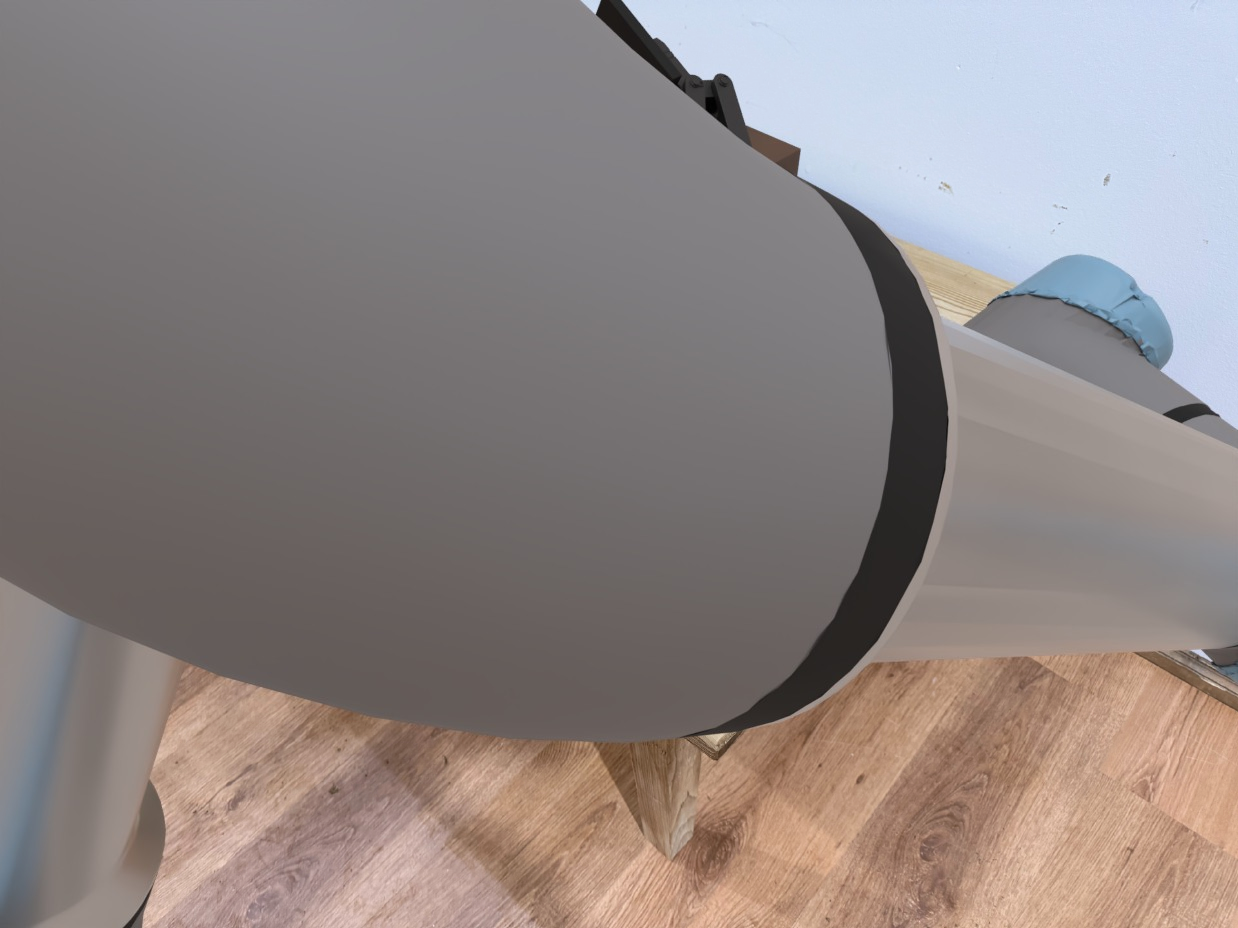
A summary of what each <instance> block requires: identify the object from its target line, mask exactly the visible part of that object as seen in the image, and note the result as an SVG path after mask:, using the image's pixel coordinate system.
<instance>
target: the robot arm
mask: <svg viewBox="0 0 1238 928" xmlns="http://www.w3.org/2000/svg"><path fill="white" fill-rule="evenodd" d="M737 95H738V94H737V93H736V89H735V85H734V81H732V79H731V78H730V77H729V75H727V74H725V73H717V74H715V75H714V76H713V78H712V79H703V78H702V77H701V76H699V75H697V74H690V72H689V71H688V70H687V69H686V67H684V65H683V64H682V63H681V61H680V60H679V59H678V58H677V57H676V56H675V54H674V53H673V52H672V50H671V49H670V48H669V47H668V46H667V44H666V43H665V42H664V41H662V39H660V38H658V37H654V38H653V37H652V36H651V34H650V33H649V32H648V31H647V29H646V28H645V27H644V26H643V24H642V23H641V22H640V21H639V20H638V18H637V17H636V16H635V15H634V13H633V12H632V11H631V9H630V8H629V7H628V6H627V5H626V3H625V2H624V1H623V0H600V1H599V4H598V6H597V9H596V12H593V10H591V9H590V7H588V6H587V4H585V3H584V2H583V1H582V0H0V928H143V924H144V916H145V910H146V908H147V905H148V902H149V900H150V897H151V893H152V891H153V888H154V885H155V882H156V879H157V876H158V873H159V870H160V869H161V868H160V867H161V863H162V860H163V855H164V851H165V847H166V835H167V826H166V820H165V813H164V809H163V803H162V801H161V798H160V795H159V793H158V791H157V789H156V787H155V785H154V784H153V782H152V780H151V779H150V777H151V774H152V771H153V768H154V765H155V761H156V758H157V755H158V752H159V749H160V746H161V743H162V740H163V736H164V733H165V729H166V726H167V723H168V720H169V717H170V714H171V711H172V707H173V704H174V701H175V698H176V694H177V691H178V688H179V686H180V682H181V679H182V675H183V672H184V669H185V667H186V663H187V664H189V665H192V666H195V667H197V668H199V669H202V670H204V671H207V672H209V673H211V674H214V675H216V676H219V677H222V678H226V679H229V680H233V681H237V682H241V683H244V684H249V685H252V686H256V687H259V688H263V689H266V690H270V691H274V692H277V693H282V694H285V695H289V696H292V697H296V698H300V699H302V700H303V699H304V700H306V701H310V702H315V703H318V704H321V705H325V706H329V707H332V708H336V709H339V710H343V711H347V712H351V713H354V714H358V715H362V716H366V717H369V718H375V719H382V720H387V721H394V722H400V723H407V724H413V725H419V726H425V727H430V728H431V727H432V728H436V729H437V728H439V729H444V730H452V731H457V732H462V733H463V732H464V733H469V734H470V733H471V734H476V735H482V736H489V737H494V738H502V739H508V740H527V741H528V740H529V741H551V742H554V741H555V742H557V741H558V742H583V743H608V744H609V743H612V744H630V743H632V744H633V743H642V742H653V741H662V740H665V741H666V740H674V739H686V738H693V737H702V736H713V735H721V734H730V733H731V734H732V733H737V732H741V731H748V730H752V729H757V728H762V727H765V726H769V725H775V724H780V723H783V722H785V721H787V720H790V719H792V718H795V717H796V716H798V715H801V714H804V713H806V712H808V711H811V710H812V709H814V708H815V707H817V706H819V705H820V704H821V703H823V702H824V701H826V700H827V699H828V698H830V697H832V696H834V695H835V694H836V693H838V692H840V691H841V690H842V689H843V688H844V687H845V686H846V685H847V684H849V683H850V682H851V681H852V680H853V679H854V678H855V677H856V676H858V675H859V674H860V673H861V672H862V671H863V670H864V669H865V668H866V667H867V666H868V665H869V664H872V663H895V662H897V663H899V662H923V661H924V662H925V661H944V660H949V661H950V660H970V659H971V660H972V659H973V660H974V659H994V658H995V659H996V658H1019V657H1045V656H1071V655H1095V654H1096V655H1097V654H1099V655H1100V654H1120V653H1121V654H1122V653H1123V654H1124V653H1125V654H1126V653H1144V652H1145V653H1146V652H1169V651H1170V652H1172V651H1195V650H1196V651H1197V650H1201V651H1202V652H1203V653H1204V655H1206V656H1207V657H1208V658H1209V659H1210V660H1211V661H1210V665H1211V666H1212V667H1213V668H1214V669H1216V670H1217V672H1218V673H1219V674H1221V675H1224V676H1226V677H1228V678H1229V679H1231V680H1232V681H1233V682H1234V683H1236V685H1238V428H1236V427H1234V426H1233V425H1231V424H1230V423H1229V422H1228V421H1226V420H1225V419H1223V418H1222V417H1221V415H1220V413H1216V412H1215V411H1214V410H1213V409H1211V407H1210V406H1209V405H1208V404H1207V403H1205V402H1204V401H1203V400H1201V399H1200V398H1198V397H1197V396H1196V395H1194V394H1193V393H1191V391H1189V390H1187V389H1186V388H1185V387H1183V386H1182V385H1180V384H1179V383H1178V382H1176V381H1175V380H1174V379H1173V378H1171V377H1169V376H1168V375H1167V374H1166V373H1164V372H1163V371H1162V369H1163V368H1164V367H1165V366H1166V365H1167V364H1168V362H1169V361H1170V359H1171V357H1172V355H1173V352H1174V336H1173V333H1172V329H1171V326H1170V323H1169V321H1168V319H1167V317H1166V316H1165V313H1164V311H1163V310H1162V308H1161V307H1160V305H1159V304H1158V303H1157V301H1156V299H1154V297H1153V296H1151V295H1148V294H1147V293H1145V292H1144V291H1143V290H1142V289H1141V288H1140V287H1139V286H1138V284H1137V281H1136V280H1135V278H1134V277H1133V276H1132V275H1130V274H1129V273H1128V272H1126V271H1125V270H1123V269H1122V268H1120V267H1119V266H1118V265H1116V264H1114V263H1113V262H1110V261H1108V260H1106V259H1103V258H1101V257H1097V256H1095V255H1094V256H1093V255H1089V254H1083V253H1082V254H1079V253H1078V254H1077V253H1076V254H1069V255H1065V256H1061V257H1059V258H1057V259H1054V260H1053V261H1052V262H1050V263H1048V264H1047V265H1046V266H1044V267H1043V268H1041V269H1040V270H1039V271H1037V272H1035V273H1033V274H1032V275H1031V276H1030V277H1027V278H1026V279H1025V280H1024V281H1022V282H1020V283H1018V284H1016V285H1015V286H1014V287H1013V288H1011V289H1009V290H1006V291H1004V292H1003V293H1002V294H998V295H997V296H996V297H994V298H992V299H991V301H989V302H988V303H987V305H986V307H985V308H984V309H982V310H981V311H980V312H978V313H977V314H975V315H974V316H973V317H972V318H970V319H969V320H968V321H966V322H965V323H964V324H963V325H962V324H960V323H957V322H956V321H953V320H951V319H949V318H947V317H944V316H942V315H941V314H940V311H939V309H938V307H937V305H936V303H935V300H934V298H933V296H932V294H931V292H930V289H929V288H928V285H927V283H926V281H925V279H924V277H923V275H922V274H921V273H920V271H919V270H918V268H917V267H916V266H915V263H913V261H912V260H911V258H910V257H909V256H908V254H907V253H906V251H905V249H904V248H903V247H902V245H900V244H899V243H898V242H897V240H895V239H894V238H893V237H892V235H890V234H889V233H888V232H887V231H886V230H885V229H884V227H882V226H881V225H880V224H879V223H878V222H877V221H876V220H874V219H873V218H871V217H869V216H868V215H867V214H865V213H864V212H862V211H861V210H859V209H857V208H856V207H854V206H853V205H852V204H850V203H848V202H846V201H845V200H842V199H841V198H839V197H838V196H835V195H834V194H832V193H830V192H828V191H827V190H824V189H823V188H821V187H819V186H817V185H816V184H814V183H812V182H809V181H808V180H806V179H804V178H803V177H800V176H798V175H797V176H796V175H795V174H793V173H792V172H790V171H788V170H786V169H784V168H782V167H780V166H779V165H777V164H776V163H774V162H773V161H771V160H770V159H768V158H767V157H765V156H764V155H762V154H761V153H759V152H758V151H756V150H755V149H753V148H752V144H751V141H750V138H749V135H748V131H747V128H746V125H747V124H746V121H745V119H744V114H743V112H742V109H741V108H742V107H741V106H740V102H739V99H738V96H737Z"/></svg>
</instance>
